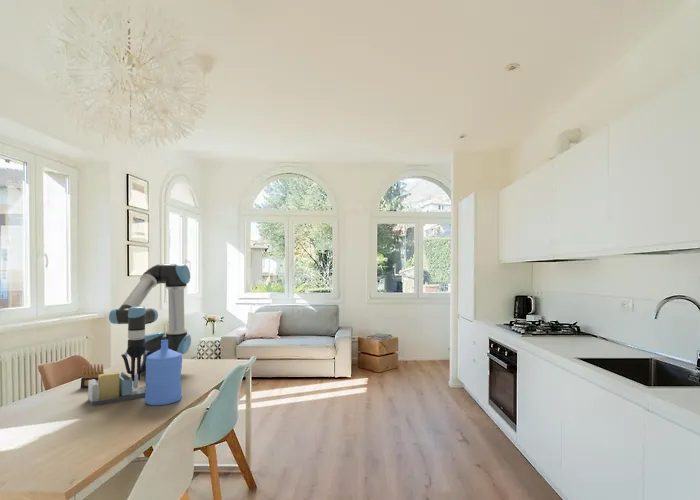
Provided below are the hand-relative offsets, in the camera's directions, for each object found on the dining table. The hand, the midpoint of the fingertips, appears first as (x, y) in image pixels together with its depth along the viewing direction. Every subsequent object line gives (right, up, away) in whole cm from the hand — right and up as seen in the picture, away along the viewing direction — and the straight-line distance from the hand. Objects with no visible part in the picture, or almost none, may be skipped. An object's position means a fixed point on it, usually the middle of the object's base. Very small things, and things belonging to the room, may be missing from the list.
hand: (135, 387), depth 202 cm
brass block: (-9, -2, -7) cm, 12 cm away
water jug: (+18, -4, -9) cm, 20 cm away
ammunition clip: (-30, -5, +14) cm, 33 cm away
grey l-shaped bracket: (-5, -4, -5) cm, 8 cm away
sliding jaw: (-4, -1, -3) cm, 5 cm away
